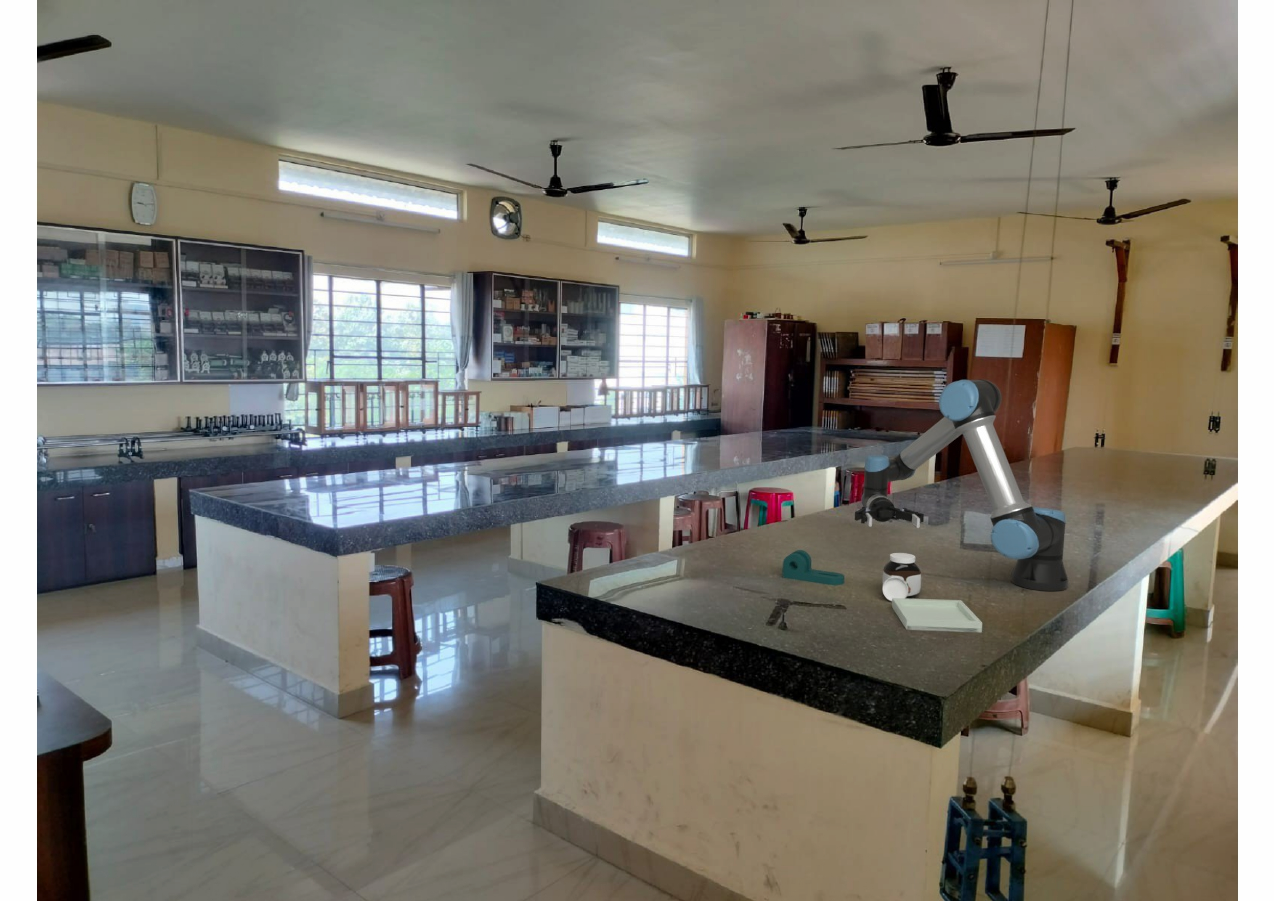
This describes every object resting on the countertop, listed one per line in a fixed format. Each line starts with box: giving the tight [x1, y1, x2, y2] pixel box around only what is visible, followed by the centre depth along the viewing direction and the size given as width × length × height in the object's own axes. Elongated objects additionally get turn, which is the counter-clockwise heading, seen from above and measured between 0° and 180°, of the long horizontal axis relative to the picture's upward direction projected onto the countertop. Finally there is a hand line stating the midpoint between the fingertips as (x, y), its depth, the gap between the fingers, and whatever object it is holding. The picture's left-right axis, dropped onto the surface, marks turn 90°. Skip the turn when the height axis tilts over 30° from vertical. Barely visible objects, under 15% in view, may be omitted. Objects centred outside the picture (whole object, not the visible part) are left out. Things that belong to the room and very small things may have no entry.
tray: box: [891, 598, 983, 633], centre depth 205 cm, size 18×18×2 cm
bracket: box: [782, 549, 845, 586], centre depth 242 cm, size 18×7×8 cm, turn 59°
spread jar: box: [882, 552, 922, 602], centre depth 223 cm, size 12×11×12 cm
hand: (894, 522), depth 232 cm, fingers open, 13 cm apart
